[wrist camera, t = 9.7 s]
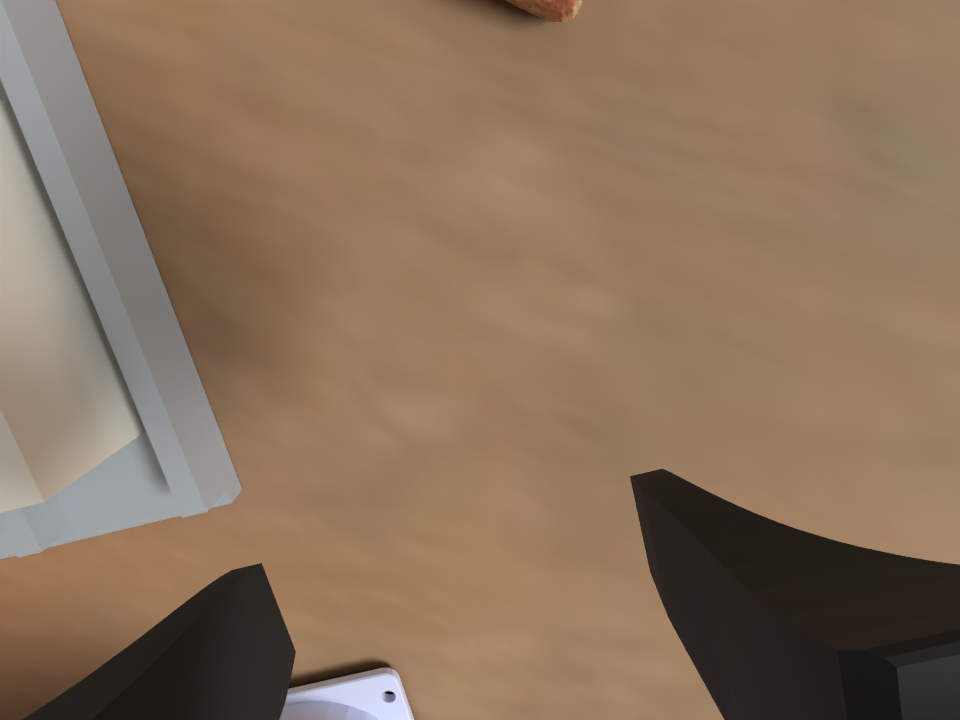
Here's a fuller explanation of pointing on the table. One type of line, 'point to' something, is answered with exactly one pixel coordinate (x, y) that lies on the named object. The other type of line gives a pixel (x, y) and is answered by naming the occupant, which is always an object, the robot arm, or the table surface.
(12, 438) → the white rectangular block
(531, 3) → the ceramic shard
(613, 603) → the table surface
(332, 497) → the table surface
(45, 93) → the grey ridged tray
